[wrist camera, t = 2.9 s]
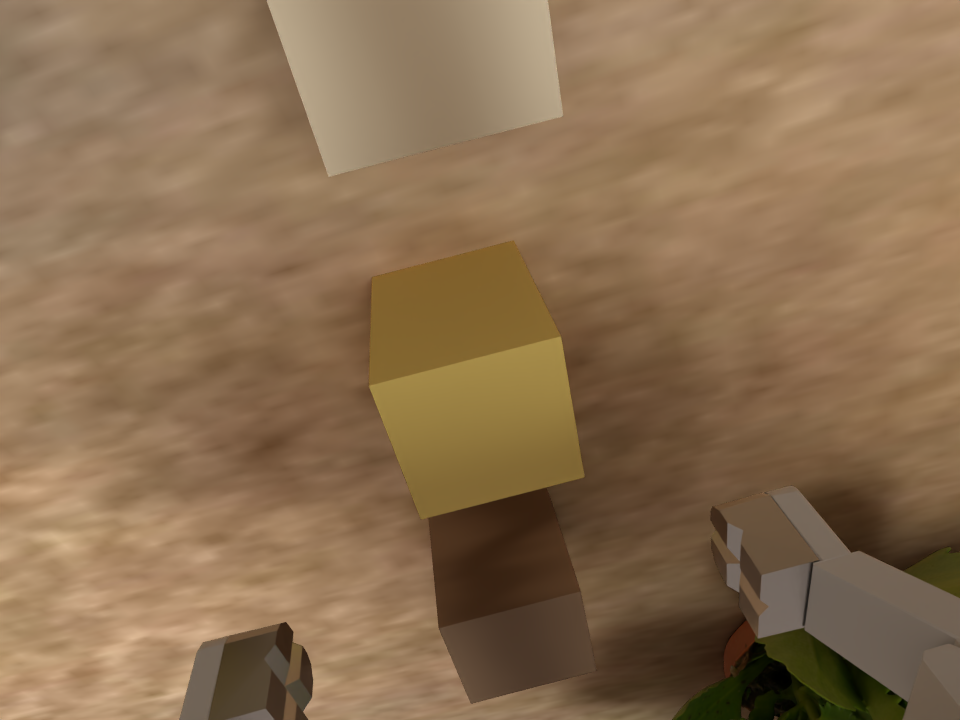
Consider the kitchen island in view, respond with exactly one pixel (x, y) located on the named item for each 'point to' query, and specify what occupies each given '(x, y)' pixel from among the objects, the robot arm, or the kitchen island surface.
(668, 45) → the kitchen island surface
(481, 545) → the walnut block
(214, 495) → the kitchen island surface
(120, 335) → the kitchen island surface
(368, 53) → the birch block
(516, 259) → the mustard block
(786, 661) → the potted flower
